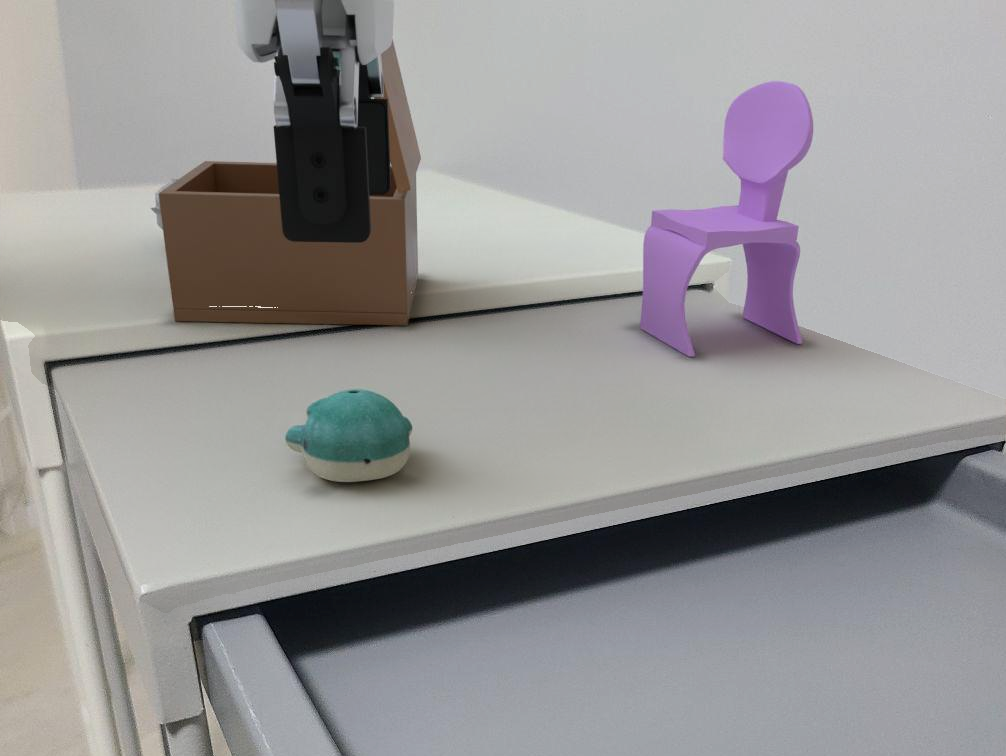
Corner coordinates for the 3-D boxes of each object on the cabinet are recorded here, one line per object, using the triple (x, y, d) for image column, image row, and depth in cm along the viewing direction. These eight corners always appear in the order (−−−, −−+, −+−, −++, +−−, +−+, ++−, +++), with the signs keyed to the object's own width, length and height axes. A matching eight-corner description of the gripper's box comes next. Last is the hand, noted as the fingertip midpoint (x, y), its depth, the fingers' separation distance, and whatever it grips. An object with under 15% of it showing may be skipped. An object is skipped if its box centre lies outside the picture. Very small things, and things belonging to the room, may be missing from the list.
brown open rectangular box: (174, 321, 67) (157, 193, 64) (216, 273, 78) (204, 160, 74) (407, 325, 68) (404, 199, 64) (418, 277, 79) (415, 166, 75)
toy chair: (625, 324, 70) (643, 75, 63) (738, 312, 73) (767, 75, 66) (691, 363, 63) (720, 90, 56) (812, 348, 67) (853, 89, 60)
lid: (324, -100, 57) (426, -124, 57) (349, -89, 68) (435, -109, 67) (398, 193, 64) (489, 173, 64) (410, 161, 75) (488, 144, 75)
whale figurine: (298, 499, 46) (292, 416, 44) (276, 435, 52) (270, 359, 50) (431, 484, 47) (430, 403, 46) (395, 424, 53) (393, 350, 52)
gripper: (249, -259, 44) (285, 178, 52) (123, -384, 28) (202, 263, 36) (433, -251, 44) (441, 181, 52) (407, -372, 29) (423, 266, 37)
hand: (343, 214), depth 44 cm, fingers open, 9 cm apart
